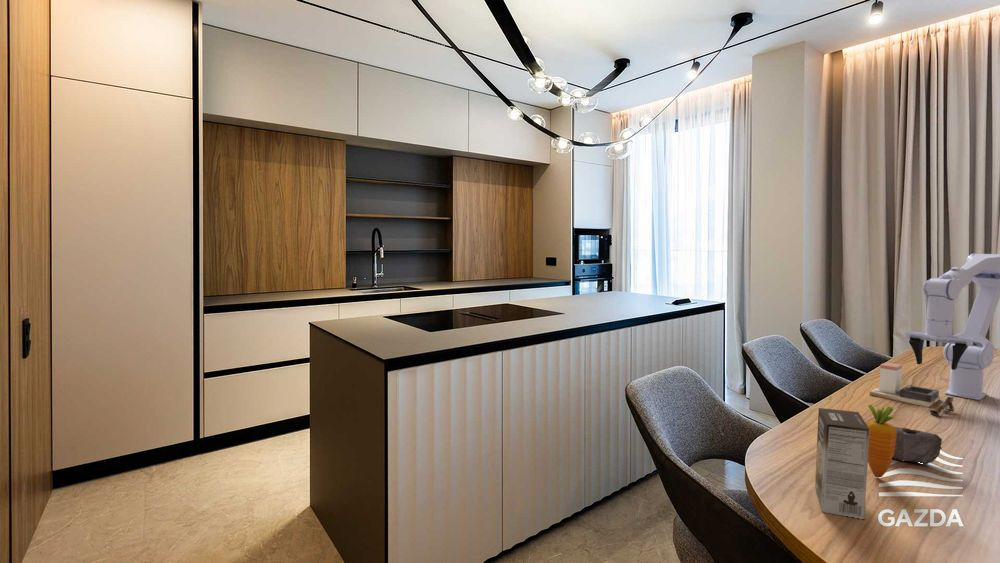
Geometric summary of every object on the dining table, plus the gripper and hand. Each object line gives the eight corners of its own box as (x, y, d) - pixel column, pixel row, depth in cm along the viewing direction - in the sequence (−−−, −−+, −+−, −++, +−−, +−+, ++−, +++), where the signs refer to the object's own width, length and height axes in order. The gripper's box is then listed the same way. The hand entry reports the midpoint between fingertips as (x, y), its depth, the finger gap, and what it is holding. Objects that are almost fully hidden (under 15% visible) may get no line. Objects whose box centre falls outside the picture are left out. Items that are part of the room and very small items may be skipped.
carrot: (855, 473, 100) (859, 400, 98) (878, 471, 100) (882, 400, 99) (876, 485, 95) (880, 409, 94) (900, 483, 95) (905, 408, 94)
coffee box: (813, 488, 94) (817, 406, 92) (853, 495, 91) (858, 411, 90) (821, 512, 85) (826, 422, 84) (866, 521, 83) (871, 428, 81)
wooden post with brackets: (958, 409, 134) (955, 395, 133) (940, 425, 132) (937, 410, 131) (951, 407, 135) (947, 393, 134) (932, 422, 133) (929, 408, 132)
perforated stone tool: (849, 451, 110) (851, 421, 110) (854, 444, 114) (855, 415, 113) (939, 473, 99) (941, 440, 99) (940, 464, 103) (943, 432, 103)
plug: (884, 387, 153) (885, 362, 152) (900, 390, 150) (902, 364, 149) (878, 390, 150) (880, 364, 149) (895, 393, 147) (896, 367, 146)
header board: (881, 388, 156) (882, 379, 156) (939, 399, 145) (940, 389, 145) (869, 394, 150) (870, 385, 149) (929, 407, 138) (929, 396, 138)
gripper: (903, 318, 145) (900, 363, 146) (970, 324, 133) (966, 373, 134) (910, 316, 149) (907, 360, 150) (976, 322, 137) (972, 369, 138)
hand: (936, 366), depth 142 cm, fingers open, 7 cm apart
